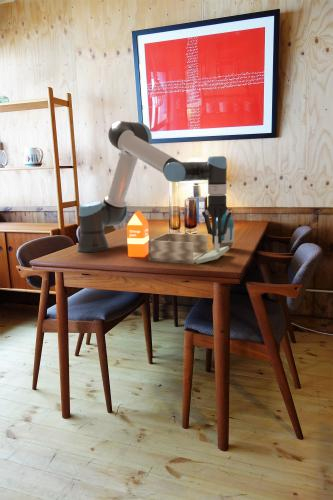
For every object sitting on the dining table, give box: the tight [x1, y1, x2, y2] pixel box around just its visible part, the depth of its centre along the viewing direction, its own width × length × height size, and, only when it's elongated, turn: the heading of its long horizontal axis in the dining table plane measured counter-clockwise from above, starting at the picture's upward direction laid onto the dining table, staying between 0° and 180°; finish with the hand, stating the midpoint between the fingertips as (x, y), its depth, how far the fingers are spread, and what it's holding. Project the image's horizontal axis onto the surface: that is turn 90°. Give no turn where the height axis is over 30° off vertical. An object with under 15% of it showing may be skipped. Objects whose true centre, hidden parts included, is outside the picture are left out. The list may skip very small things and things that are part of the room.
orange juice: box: [126, 210, 150, 258], centre depth 177 cm, size 8×9×20 cm
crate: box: [148, 232, 208, 265], centre depth 170 cm, size 20×20×9 cm
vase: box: [212, 213, 235, 250], centre depth 183 cm, size 11×11×19 cm
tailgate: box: [195, 246, 230, 265], centre depth 164 cm, size 2×19×9 cm
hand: (217, 250), depth 163 cm, fingers closed
